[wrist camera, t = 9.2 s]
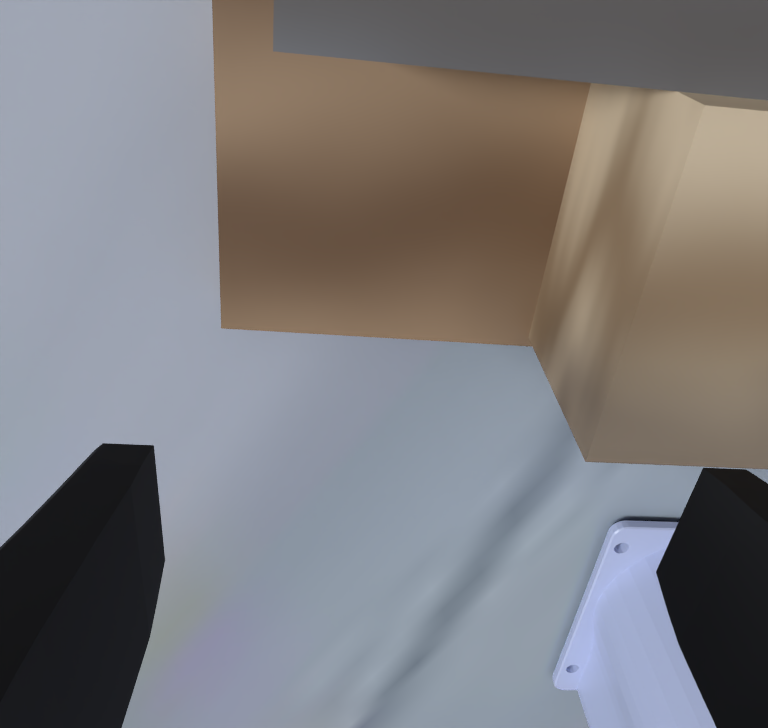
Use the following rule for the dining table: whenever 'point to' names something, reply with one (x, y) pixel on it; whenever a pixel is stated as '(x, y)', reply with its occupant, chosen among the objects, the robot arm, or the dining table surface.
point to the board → (382, 190)
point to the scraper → (624, 203)
